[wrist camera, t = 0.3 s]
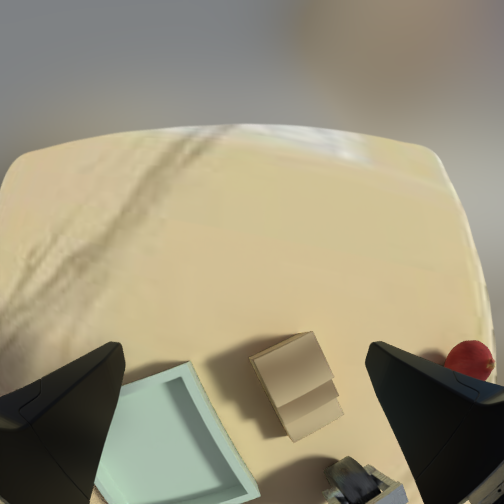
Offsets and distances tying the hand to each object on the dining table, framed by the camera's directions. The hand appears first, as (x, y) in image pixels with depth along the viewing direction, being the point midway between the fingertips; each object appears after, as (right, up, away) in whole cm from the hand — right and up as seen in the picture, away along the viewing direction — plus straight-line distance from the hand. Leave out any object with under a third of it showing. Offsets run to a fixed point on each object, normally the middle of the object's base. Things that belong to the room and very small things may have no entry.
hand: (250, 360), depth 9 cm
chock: (+4, -8, +14) cm, 17 cm away
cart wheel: (+9, -19, +11) cm, 23 cm away
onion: (+23, -10, +16) cm, 29 cm away
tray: (-9, -14, +10) cm, 19 cm away
